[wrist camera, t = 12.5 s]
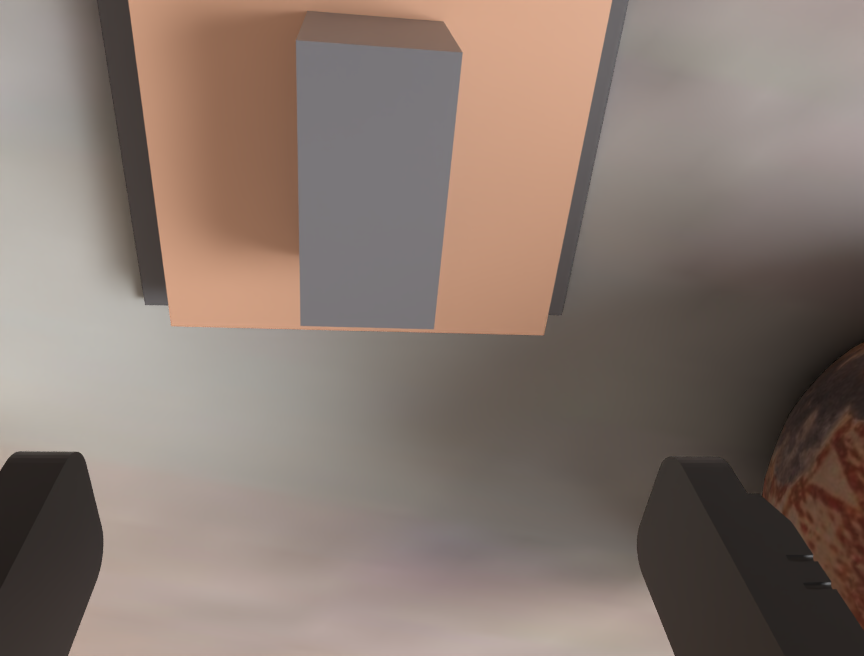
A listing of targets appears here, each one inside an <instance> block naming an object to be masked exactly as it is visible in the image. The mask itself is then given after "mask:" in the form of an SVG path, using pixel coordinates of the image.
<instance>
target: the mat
mask: <svg viewBox="0 0 864 656" xmlns="http://www.w3.org/2000/svg"><path fill="white" fill-rule="evenodd" d="M628 1H629V0H612V4H611V9H610V14H609V19H608V24H607V29H606V34H605V39H604V43H603V48H602V53H601V58H600V63H599V68H598V73H597V78H596V83H595V88H594V92H593V97H592V102H591V107H590V112H589V117H588V122H587V127H586V132H585V137H584V141H583V146H582V151H581V156H580V161H579V166H578V171H577V176H576V181H575V186H574V191H573V195H572V200H571V205H570V210H569V215H568V220H567V225H566V230H565V235H564V240H563V244H562V249H561V254H560V259H559V264H558V269H557V274H556V279H555V284H554V289H553V293H552V298H551V303H550V308H549V313H548V315H562V312H563V308H564V303H565V298H566V293H567V289H568V284H569V279H570V275H571V270H572V265H573V260H574V256H575V251H576V246H577V242H578V237H579V232H580V227H581V223H582V218H583V213H584V209H585V204H586V199H587V194H588V190H589V185H590V180H591V176H592V171H593V166H594V161H595V157H596V152H597V147H598V142H599V138H600V133H601V128H602V124H603V119H604V114H605V109H606V105H607V100H608V95H609V91H610V86H611V81H612V76H613V72H614V67H615V62H616V58H617V53H618V48H619V43H620V39H621V34H622V29H623V25H624V20H625V15H626V10H627V6H628ZM97 2H98V8H99V15H100V21H101V27H102V34H103V40H104V46H105V53H106V59H107V65H108V72H109V78H110V85H111V91H112V97H113V104H114V110H115V116H116V123H117V129H118V135H119V142H120V148H121V155H122V161H123V167H124V174H125V180H126V186H127V193H128V199H129V205H130V212H131V218H132V224H133V231H134V237H135V244H136V250H137V256H138V263H139V269H140V275H141V282H142V288H143V294H144V301H145V305H168V298H167V290H166V282H165V275H164V267H163V260H162V252H161V245H160V237H159V229H158V222H157V214H156V207H155V199H154V192H153V184H152V176H151V169H150V161H149V154H148V146H147V139H146V131H145V123H144V116H143V108H142V101H141V93H140V86H139V78H138V70H137V63H136V55H135V48H134V40H133V33H132V25H131V17H130V10H129V2H128V0H97Z"/></svg>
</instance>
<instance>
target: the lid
mask: <svg viewBox="0 0 864 656" xmlns="http://www.w3.org/2000/svg"><path fill="white" fill-rule="evenodd" d="M128 2H129V10H130V17H131V25H132V33H133V40H134V48H135V55H136V63H137V70H138V78H139V86H140V93H141V101H142V108H143V116H144V123H145V131H146V139H147V146H148V154H149V161H150V169H151V176H152V184H153V192H154V199H155V207H156V214H157V222H158V229H159V237H160V245H161V252H162V260H163V267H164V275H165V282H166V290H167V298H168V305H169V313H170V320H171V326H185V327H225V328H266V329H306V330H347V331H387V332H428V333H468V334H509V335H544V333H545V328H546V323H547V318H548V313H549V308H550V303H551V298H552V293H553V289H554V284H555V279H556V274H557V269H558V264H559V259H560V254H561V249H562V244H563V240H564V235H565V230H566V225H567V220H568V215H569V210H570V205H571V200H572V195H573V191H574V186H575V181H576V176H577V171H578V166H579V161H580V156H581V151H582V146H583V141H584V137H585V132H586V127H587V122H588V117H589V112H590V107H591V102H592V97H593V92H594V88H595V83H596V78H597V73H598V68H599V63H600V58H601V53H602V48H603V43H604V39H605V34H606V29H607V24H608V19H609V14H610V9H611V4H612V0H128Z"/></svg>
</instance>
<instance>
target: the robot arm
mask: <svg viewBox="0 0 864 656" xmlns="http://www.w3.org/2000/svg"><path fill="white" fill-rule="evenodd" d="M637 553H638V560H639V565H640V569H641V572H642V574H643V577H644V580H645V582H646V585H647V587H648V590H649V592H650V595H651V597H652V600H653V602H654V605H655V607H656V610H657V612H658V615H659V617H660V620H661V622H662V625H663V627H664V630H665V632H666V635H667V637H668V640H669V642H670V645H671V647H672V650H673V652H674V655H675V656H864V630H863V629H862V627H861V626H860V624H859V623H858V621H857V620H856V618H855V617H854V615H853V614H852V612H851V611H850V609H849V608H848V606H847V604H846V603H845V601H844V600H843V598H842V597H841V595H840V594H839V592H838V591H837V589H832V587H831V580H830V579H829V577H828V576H827V574H826V573H825V571H824V570H823V568H822V567H821V565H820V564H819V562H818V561H814V560H813V553H812V552H811V550H810V549H809V547H808V546H807V544H806V543H805V541H804V540H803V538H802V537H801V535H800V534H799V532H798V531H797V529H796V528H795V526H794V525H793V523H792V522H791V521H790V520H789V519H788V518H787V517H785V516H784V515H783V514H782V513H781V512H780V511H778V510H777V509H776V508H775V507H774V506H773V505H772V504H770V503H769V502H768V501H767V500H766V499H765V498H763V497H762V496H761V495H760V494H747V493H746V491H745V489H744V488H743V486H742V485H741V483H740V481H739V480H738V478H737V476H736V475H735V473H734V472H733V470H732V468H731V467H730V466H729V464H728V463H727V462H726V461H725V460H724V459H722V458H719V457H668V458H666V459H665V460H664V461H663V462H662V464H661V466H660V469H659V472H658V474H657V477H656V480H655V483H654V486H653V489H652V492H651V495H650V497H649V500H648V503H647V506H646V509H645V512H644V515H643V518H642V520H641V523H640V526H639V530H638V536H637ZM102 556H103V531H102V526H101V522H100V518H99V514H98V510H97V506H96V502H95V498H94V493H93V489H92V485H91V481H90V477H89V473H88V469H87V465H86V462H85V459H84V457H83V455H82V454H81V453H79V452H22V451H19V452H15V453H14V454H12V455H11V456H10V457H9V458H8V460H7V461H6V463H5V464H4V466H3V467H2V469H1V471H0V656H68V654H69V651H70V649H71V646H72V643H73V641H74V638H75V636H76V633H77V630H78V628H79V625H80V623H81V620H82V617H83V615H84V612H85V609H86V607H87V604H88V602H89V599H90V596H91V594H92V591H93V589H94V586H95V583H96V581H97V578H98V575H99V571H100V567H101V562H102Z"/></svg>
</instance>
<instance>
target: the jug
mask: <svg viewBox="0 0 864 656" xmlns="http://www.w3.org/2000/svg"><path fill="white" fill-rule="evenodd" d="M762 497H763V498H765V499H766V500H767V501H768V502H769V503H770V504H772V505H773V506H774V507H775V508H776V509H777V510H778V511H780V512H781V513H782V514H783V515H784V516H785V517H787V518H788V519H789V520H790V521H791V522H792V523H793V525H794V526H795V528H796V529H797V531H798V532H799V534H800V535H801V537H802V538H803V540H804V541H805V543H806V544H807V546H808V547H809V549H810V550H811V552H812V553H813V560H814V561H818V562H819V564H820V565H821V567H822V568H823V570H824V571H825V573H826V574H827V576H828V577H829V579H830V580H831V587H832V589H837V591H838V592H839V594H840V595H841V597H842V598H843V600H844V601H845V603H846V604H847V606H848V608H849V609H850V611H851V612H852V614H853V615H854V617H855V618H856V620H857V621H858V623H859V624H860V626H861V627H862V629H863V630H864V342H863V343H861V344H859V345H857V346H855V347H854V348H852V349H850V350H849V351H848V352H847V353H845V354H844V355H843V356H841V357H840V358H839V359H838V360H836V361H835V362H834V363H833V364H832V365H830V366H829V367H828V368H827V369H826V370H825V371H824V372H823V373H822V374H821V375H820V376H819V377H818V378H817V380H816V381H815V382H814V383H813V384H812V385H811V386H810V387H809V388H808V390H807V391H806V392H805V393H804V395H803V396H802V397H801V399H800V400H799V401H798V403H797V404H796V405H795V407H794V408H793V410H792V411H791V413H790V415H789V417H788V419H787V421H786V423H785V424H784V427H783V429H782V432H781V434H780V436H779V439H778V441H777V444H776V446H775V449H774V452H773V455H772V457H771V460H770V463H769V466H768V470H767V473H766V476H765V479H764V487H763V494H762Z"/></svg>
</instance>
